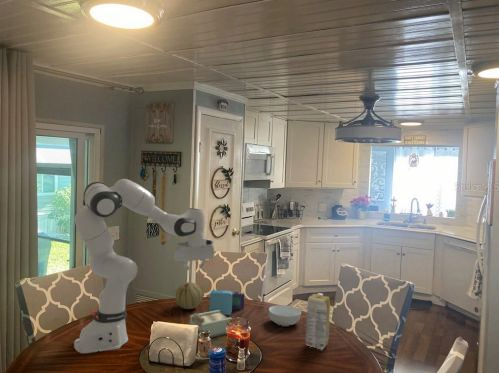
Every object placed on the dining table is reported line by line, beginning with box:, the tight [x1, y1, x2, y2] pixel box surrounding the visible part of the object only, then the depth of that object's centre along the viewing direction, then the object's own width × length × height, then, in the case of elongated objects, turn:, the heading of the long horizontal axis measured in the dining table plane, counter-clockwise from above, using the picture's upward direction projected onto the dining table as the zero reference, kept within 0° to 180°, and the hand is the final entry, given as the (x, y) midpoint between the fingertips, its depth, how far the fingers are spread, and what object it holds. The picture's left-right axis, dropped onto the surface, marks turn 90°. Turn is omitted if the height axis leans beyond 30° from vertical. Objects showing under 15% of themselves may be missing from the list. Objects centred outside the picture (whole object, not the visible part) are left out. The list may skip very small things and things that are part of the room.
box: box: [189, 310, 233, 338], centre depth 193 cm, size 16×13×7 cm
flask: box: [232, 289, 245, 311], centre depth 225 cm, size 9×3×11 cm, turn 91°
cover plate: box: [193, 312, 228, 326], centre depth 193 cm, size 15×9×4 cm, turn 124°
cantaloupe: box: [175, 281, 203, 310], centre depth 222 cm, size 15×15×15 cm
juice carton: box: [305, 292, 331, 351], centre depth 181 cm, size 9×8×24 cm
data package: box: [208, 289, 233, 316], centre depth 217 cm, size 12×4×12 cm, turn 91°
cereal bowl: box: [268, 304, 302, 327], centre depth 206 cm, size 17×17×7 cm
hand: (194, 269), depth 195 cm, fingers open, 6 cm apart
